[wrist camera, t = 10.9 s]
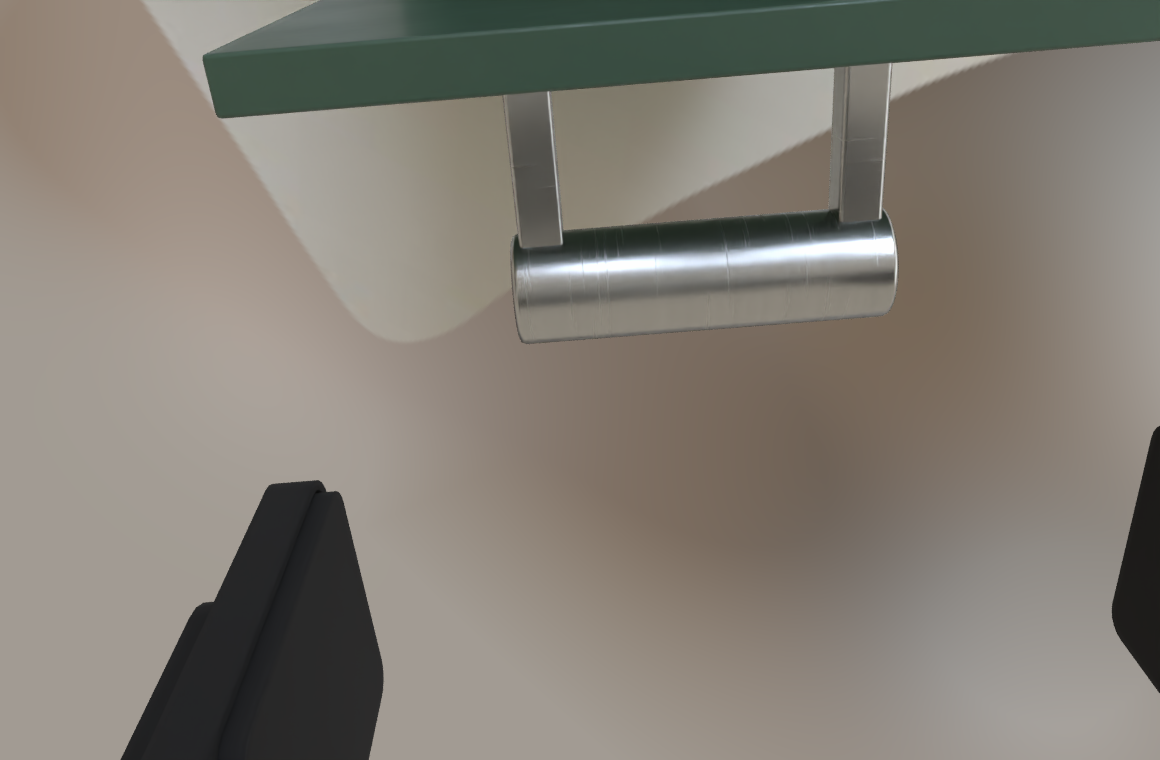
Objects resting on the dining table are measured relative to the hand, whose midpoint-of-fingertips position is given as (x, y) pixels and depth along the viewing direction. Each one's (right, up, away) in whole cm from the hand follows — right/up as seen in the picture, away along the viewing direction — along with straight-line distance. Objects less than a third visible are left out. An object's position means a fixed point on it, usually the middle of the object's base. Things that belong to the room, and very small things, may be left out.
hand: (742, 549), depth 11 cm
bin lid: (0, +10, +7) cm, 13 cm away
